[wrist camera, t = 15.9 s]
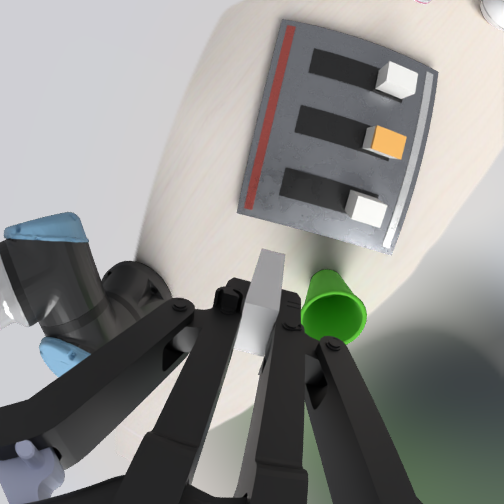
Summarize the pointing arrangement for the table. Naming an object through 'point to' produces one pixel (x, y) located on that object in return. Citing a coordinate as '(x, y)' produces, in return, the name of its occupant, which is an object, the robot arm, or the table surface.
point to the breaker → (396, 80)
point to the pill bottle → (422, 1)
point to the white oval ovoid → (493, 12)
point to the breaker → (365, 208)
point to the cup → (332, 308)
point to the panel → (334, 136)
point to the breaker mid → (384, 142)
